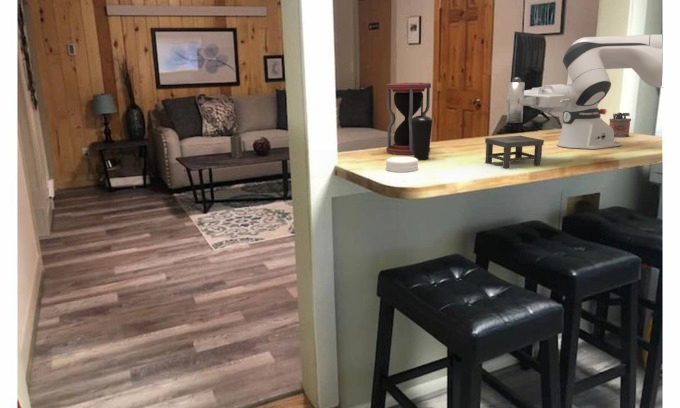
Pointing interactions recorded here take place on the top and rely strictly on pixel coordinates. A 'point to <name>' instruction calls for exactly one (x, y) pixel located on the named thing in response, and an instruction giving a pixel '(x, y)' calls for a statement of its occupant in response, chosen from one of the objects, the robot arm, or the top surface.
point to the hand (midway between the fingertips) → (513, 100)
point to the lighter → (620, 125)
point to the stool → (518, 143)
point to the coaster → (402, 164)
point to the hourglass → (405, 114)
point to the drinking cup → (421, 135)
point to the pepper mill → (515, 101)
